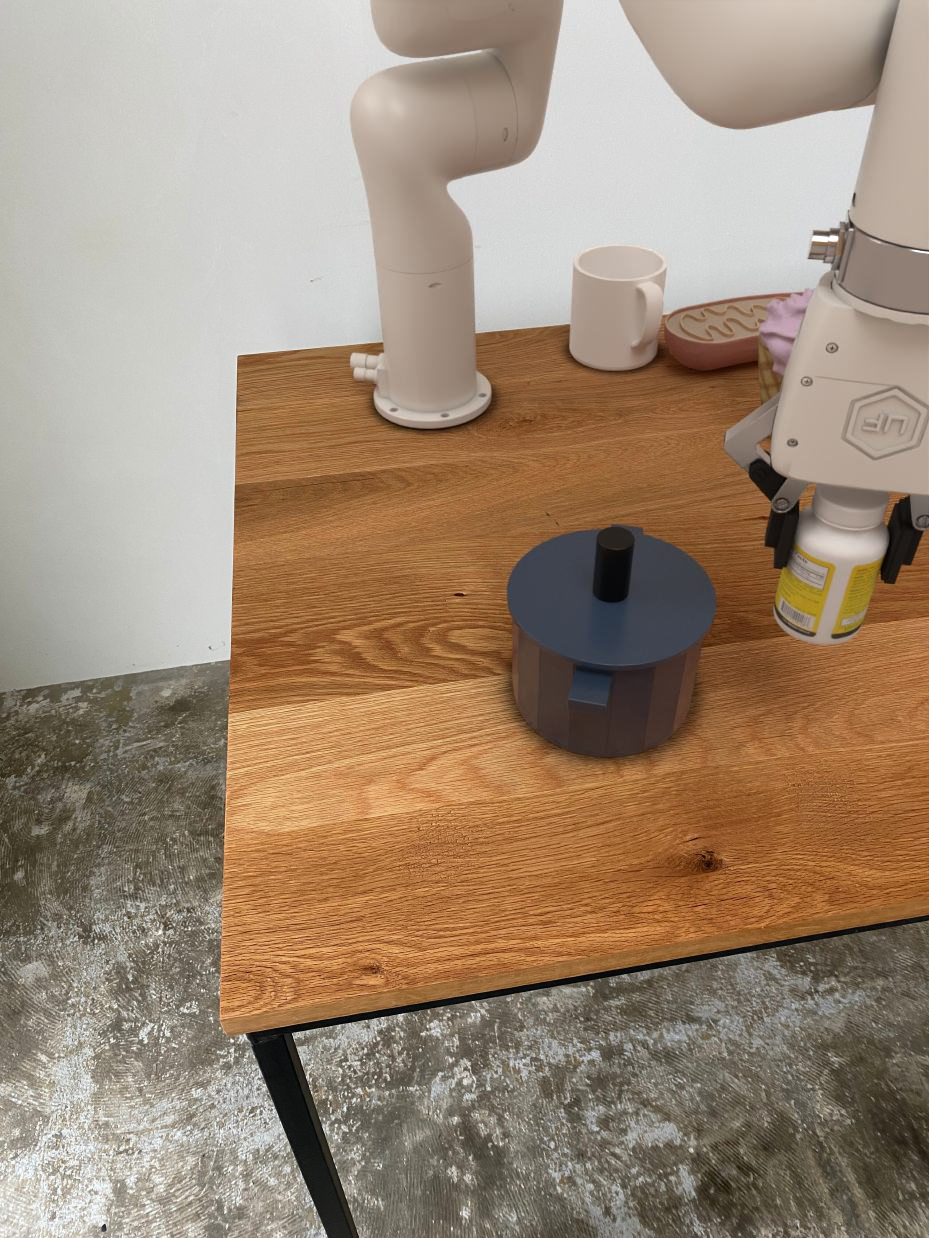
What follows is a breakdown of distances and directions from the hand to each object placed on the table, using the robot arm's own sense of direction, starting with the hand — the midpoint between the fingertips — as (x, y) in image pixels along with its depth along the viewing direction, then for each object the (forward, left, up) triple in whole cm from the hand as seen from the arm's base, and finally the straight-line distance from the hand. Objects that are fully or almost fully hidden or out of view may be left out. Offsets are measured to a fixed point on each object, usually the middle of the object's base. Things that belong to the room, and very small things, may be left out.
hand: (832, 559), depth 56 cm
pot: (-13, 0, -14) cm, 19 cm away
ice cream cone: (-2, +38, -15) cm, 41 cm away
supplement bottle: (0, 0, -5) cm, 5 cm away
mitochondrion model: (-4, +55, -15) cm, 57 cm away
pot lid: (-13, 0, -5) cm, 14 cm away
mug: (-19, +52, -15) cm, 57 cm away
